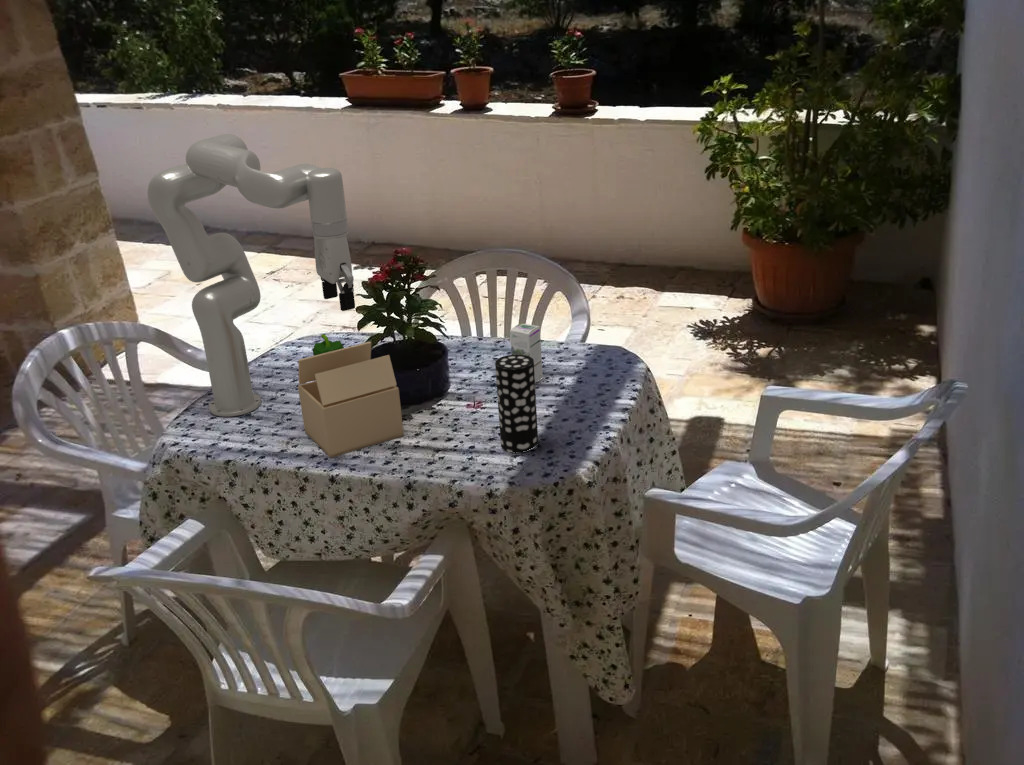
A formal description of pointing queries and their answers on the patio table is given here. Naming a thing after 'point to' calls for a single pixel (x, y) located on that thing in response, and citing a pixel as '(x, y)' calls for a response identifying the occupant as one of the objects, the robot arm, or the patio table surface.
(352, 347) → the flap
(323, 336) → the bell pepper
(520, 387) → the spotted tube
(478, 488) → the patio table surface
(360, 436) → the carton
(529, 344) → the syrup box
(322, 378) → the cardboard box flap
